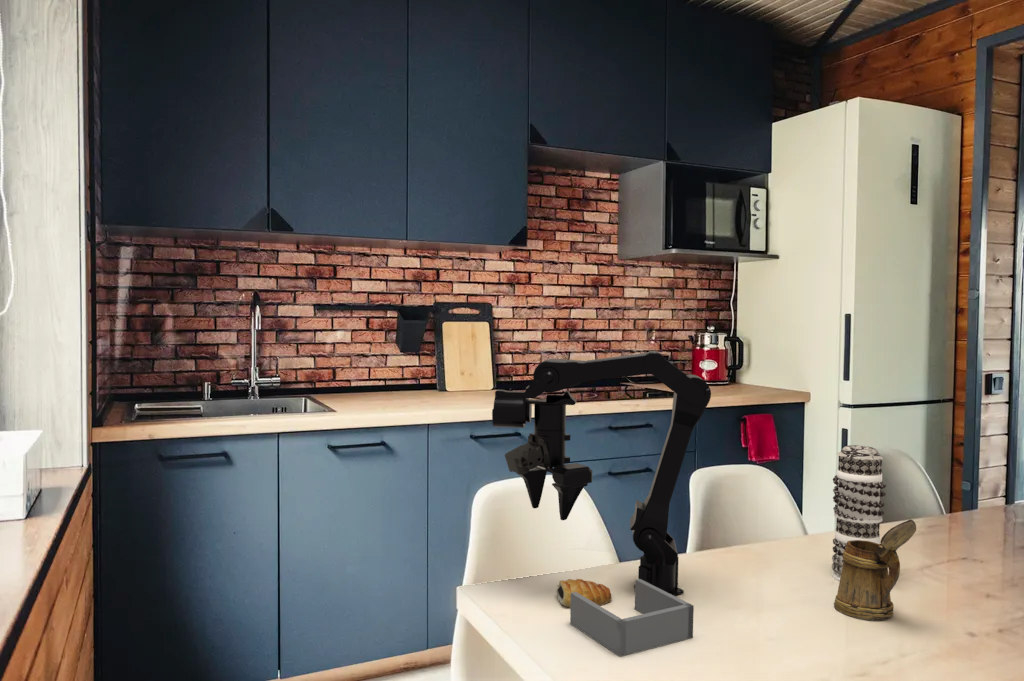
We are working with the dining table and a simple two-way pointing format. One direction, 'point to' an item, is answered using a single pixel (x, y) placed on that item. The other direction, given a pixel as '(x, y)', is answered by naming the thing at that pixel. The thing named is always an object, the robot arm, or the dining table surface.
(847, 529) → the decorative candle
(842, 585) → the wooden mug
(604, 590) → the pastry
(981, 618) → the dining table surface
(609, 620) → the box
